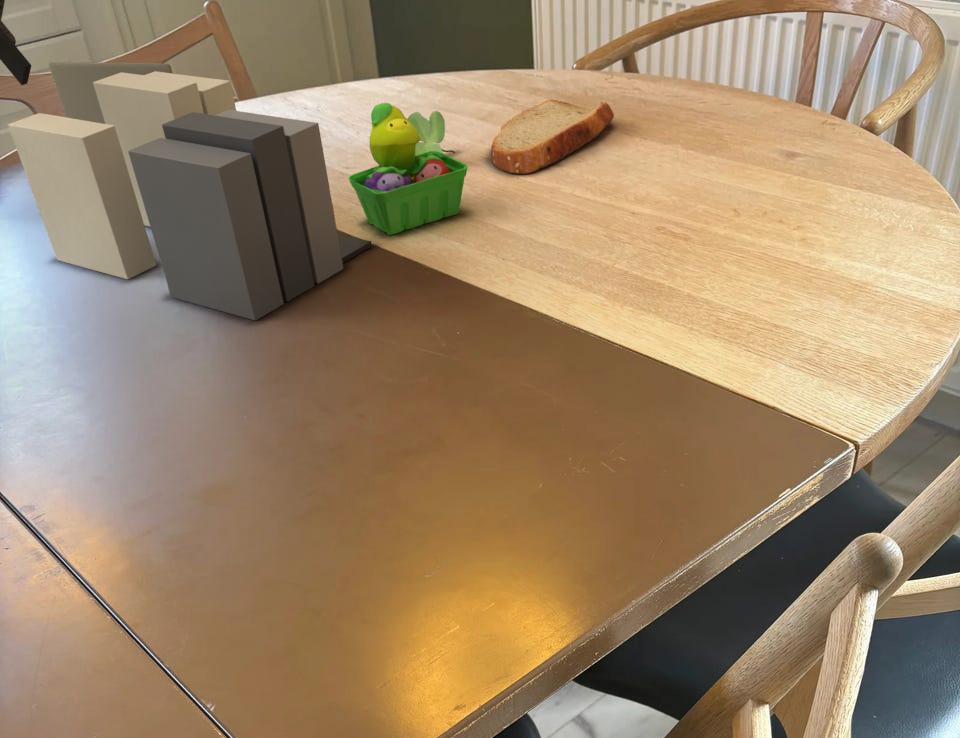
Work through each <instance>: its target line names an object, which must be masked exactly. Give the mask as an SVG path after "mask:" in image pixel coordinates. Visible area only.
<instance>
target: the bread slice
mask: <svg viewBox="0 0 960 738" xmlns="http://www.w3.org/2000/svg"><path fill="white" fill-rule="evenodd" d="M599 103H600V104H599V106H597V107H594V108H586V107H582V106H578V105H575V104H572V103H569V102H565V101H562V100H557V99H547V100H546V101H543V102H542V103H539V104H537V105H535V106H532V107H530V108H528V109H526V110H522V111H521V112H520V113H518V114H516V115H514V116H513V117H512V118H511V119H508V120H507V121H506V122H505V123H503V125H502V126H501V127H500V132H499V133H498V134H497V135H496V136H495V137H494V138H493V140H492V144H491V149H490V159H491V162H492V164H493V165H494V166H495V167H497V168H498V169H499V170H501V171H503V172H507V173H510V174H517V175H525V174H531V173H534V172H537V171H539V170H540V169H543V168H546V167H547V166H550V165H554V164H555V163H556V162H558V161H561V160H563V159H564V158H565V156H566V157H567V156H569V155H571V154H572V153H573V152H575V151H578V150H579V149H581V148H582V147H583V146H585V145H587V144H588V143H589V142H590V141H592V140H594V139H596V138H597V137H598V136H599V135H600V134H601V133H602V131H604V129H605V128H606V127H607V125H609V124H610V123H611V121H613V119H614V117H615V113H614V111H613V109H612V107H611V106H610V105H609V103H607V102H606V101H604V102H603V101H599Z"/></svg>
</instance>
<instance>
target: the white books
mask: <svg viewBox="0 0 960 738" xmlns="http://www.w3.org/2000/svg"><path fill="white" fill-rule="evenodd" d="M172 73H173V72H172ZM172 73H164V72H157V71H155V72H152V73H149V74H146V75H137V74H130V73H122V72H121V73H118V74H115V75H112V76H110V77H107V78H104V79H101V80H98V81H95V82H93V85H94V88H95V91H96V94H97V98H98V101H99V104H100V107H101V111H102V114H103V117H104V121H105V124H108V125H114V126H115V129H116V132H117V136H118V139H119V142H120V146H121V149H122V152H123V156H124V159H125V162H126V166H127V169H128V172H129V176H130V179H131V182H132V186H133V189H134V192H135V196H136V199H137V202H138V206H139V209H140V212H141V216H142V219H143V222H144V226H145V227H149V228H151V227H150V224H149V220H148V217H147V214H146V210H145V207H144V203H143V200H142V197H141V193H140V190H139V187H138V183H137V180H136V177H135V173H134V170H133V166H132V163H131V160H130V156H129V153H128V151H129V150H132V149H134V148H136V147H139V146H141V145H144V144H146V143H149V142H151V141H154V140H156V139H158V138H165V135H164V131H163V127H162V124H164V123H167V122H169V121H172V120H174V119H177V118H179V117H182V116H184V115H187V114H189V113H192V112H195V113H201V114H208V115H214V116H215V115H217V114H220V113H222V112H225V111H227V110H234V111H237V107H236V102H235V98H234V94H233V89H232V84H231V81H230V80H226V79H218V78H212V77H211V78H210V77H203V76H194V75H187V74H179V73H173V74H172ZM165 139H166V138H165Z"/></svg>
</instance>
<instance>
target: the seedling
mask: <svg viewBox="0 0 960 738" xmlns="http://www.w3.org/2000/svg"><path fill="white" fill-rule="evenodd" d="M428 118H429V119H428ZM428 118H426V117H424V116H423V115H422V114H421V113H420V112H417V111H415V112H412V113H411V114H409V115H408V117H407V119H408V120H409V121H410V122H411V123H412V124H413V126H414V127H415V128H416V130H417V132H418V134H419V137H420V141H419V142H418V143H417V144H416V148H415V155H418V154H422V153H426V152H429V151H438V152H441V153H443V154H444V153H452V154H456V151H454V150H451V149H448V150H446V149H443V148H442V146H441V145H440V143H443V141H444V139H445V135H446V121H445V118H444V116H443V115H442V112H441V111H438V110H434V111H431V113H430V115H429V117H428Z"/></svg>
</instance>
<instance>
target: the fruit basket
mask: <svg viewBox="0 0 960 738" xmlns="http://www.w3.org/2000/svg"><path fill="white" fill-rule="evenodd" d="M370 117H371V118H370V119H371V131H370V135H369V150H370V154H371V156H372V158H373V160H374V161H375V162H376V163H377V166H374V167H371V168H367V169H365V170H362V171H358V172H355V173H353V174H350V175H349V176H348V181H349V183H350V185H351V187H352V188H353V189H354V191H355V194H356V196H357V198H358V200H359V203H360V205H361V208H362V210H363V212H364V215H365V217H366V219H367V221H368V223H369V224H370V225H374V227H375V228H376V229H379V230H380V231H382V232H384V233H386V234H387V235H388V236H392V235H396V234H399V233H401V232H404V231H406V230H411V229H414V228H417V227H420V226H423V225H425V224H429V223H433V222H436V221H438V220H441V219H444V218H448V217H451V216H455V215H458V214H460V208H461V201H462V195H463V190H464V183H465V177H466V176H467V173H468V168H469V166H468V164H467V163H464V162H462V161H460V160H458V159H456V158H453V157H451V156H449V155H447V154H446V153H444V152H443V153H441V152H438V151H429V152H426V153H422V154H418V155H415V148H416V144H417V143H418V142H421V141H420V137H419V134H418V132H417V130H416V128H415V127H414V126H413V124H412V123H411V122H410V121H409V120H408V117H406V116H405V115H404V113H403V111H402V110H401V109H400V108H398V107H397V106H395V105H392V104H391V103H389V102H381V103H378V104H376V105H374V106H373V108H372V110H371V114H370Z"/></svg>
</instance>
